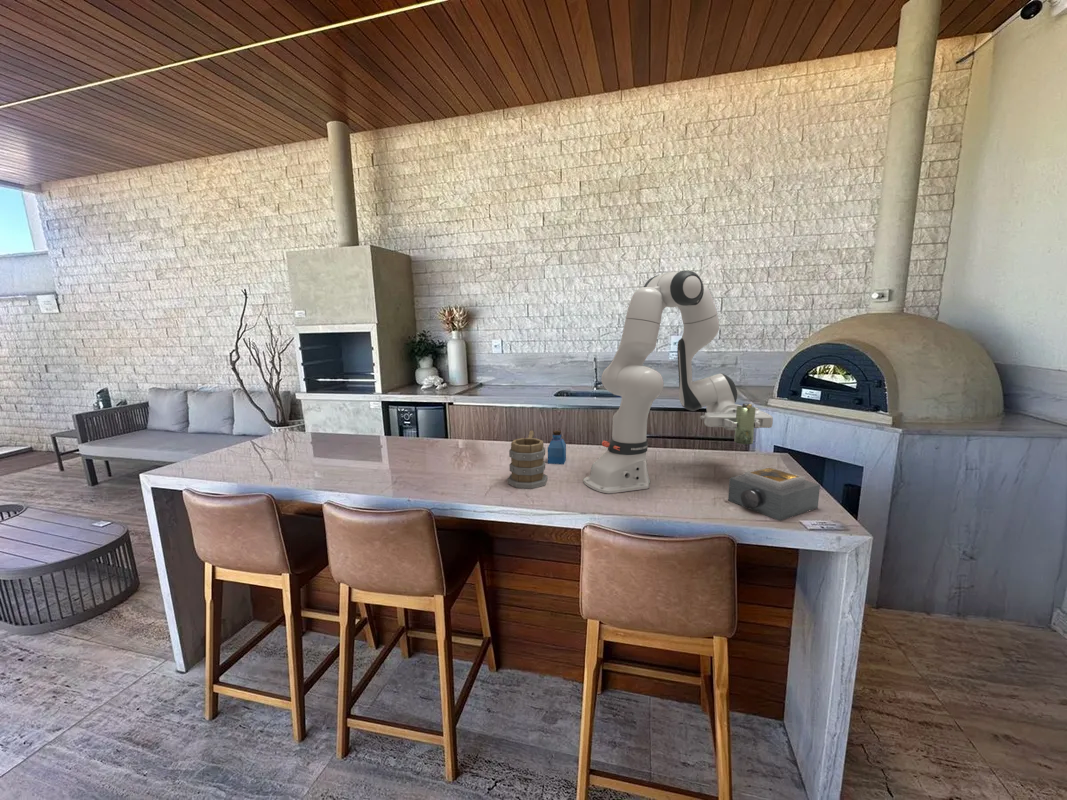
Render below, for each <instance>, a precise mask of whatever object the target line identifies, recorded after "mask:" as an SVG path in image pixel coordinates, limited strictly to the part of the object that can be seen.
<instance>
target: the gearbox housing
mask: <svg viewBox="0 0 1067 800" xmlns="http://www.w3.org/2000/svg"><path fill="white" fill-rule="evenodd" d="M728 485H729V486H728V499H727V500H728V502H731V503H734V504H736V505H739V506H741V507H744V508H746V509H749V510H751V511H754V512H757V513H759V514H762V515H764V516H767V517H769V518H771V519H774V520H777V521H780V522H781V521H783V520H784V521H785V520H786V519H790V518H793V517H796V516H799V515H801V513H802V514H804V512H805V513H808V512H810V511H809V510H811V511H814V510H816V508H817V509H818V508H819V499H820V498H819V497H820V491H821V490H820V489H821V484H819V483H816V482H812V481H809V480H806V476H803V475H801V474H800V475H799V474H796V473H793V472H790V471H786V470H782V469H779V468H776V467H773V466H764V467H759V468H755V469H751V470H748V471H744V474H740V475H736V476H735V475H734V476H731V477H729V483H728ZM813 509H814V510H813ZM807 511H808V512H807ZM798 514H799V515H798ZM795 515H796V516H795ZM792 516H793V517H792Z"/></svg>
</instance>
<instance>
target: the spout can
mask: <svg viewBox="0 0 1067 800" xmlns="http://www.w3.org/2000/svg"><path fill="white" fill-rule="evenodd" d="M736 422H737V428H735V430H734V443H736V444H739V445H753V443H754V435H755V433H754V432H755V428H754V422H755V407H754V406H753V404H752V403H742V405H741V406H737V410H736Z"/></svg>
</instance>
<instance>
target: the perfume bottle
mask: <svg viewBox="0 0 1067 800" xmlns="http://www.w3.org/2000/svg"><path fill="white" fill-rule="evenodd" d="M561 433H562V431H561V430H557V429H556V430H552V439H551V440H550V442H549V444H548V446H547V464H550V465H565V463H566V461H567V443H566V442H565V440H564V438H562V434H561Z"/></svg>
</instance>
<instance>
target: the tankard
mask: <svg viewBox="0 0 1067 800" xmlns="http://www.w3.org/2000/svg"><path fill="white" fill-rule="evenodd" d="M527 436H528V437H525V438H524V437H521V438H515V439H513V440H512V442H511V443H510V449H509V451H508V454H509V455H508V457H509V458H511V460H510V461H511V462H510V463H509V472H511V473H510V475H509V476H508V478H507V484H508V485H510V486H512V487H514V488H516V489H527V490H528V489H530V490H531V489H532V490H533V489H537V488H540V487H544V486H546V484H547V482H548V475H547V474H544V473H545V470H546V461H544V457H545V455H546V447H544V440H542V439H539V438H536V437H535V431H534V430H529V432H528V435H527Z"/></svg>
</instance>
